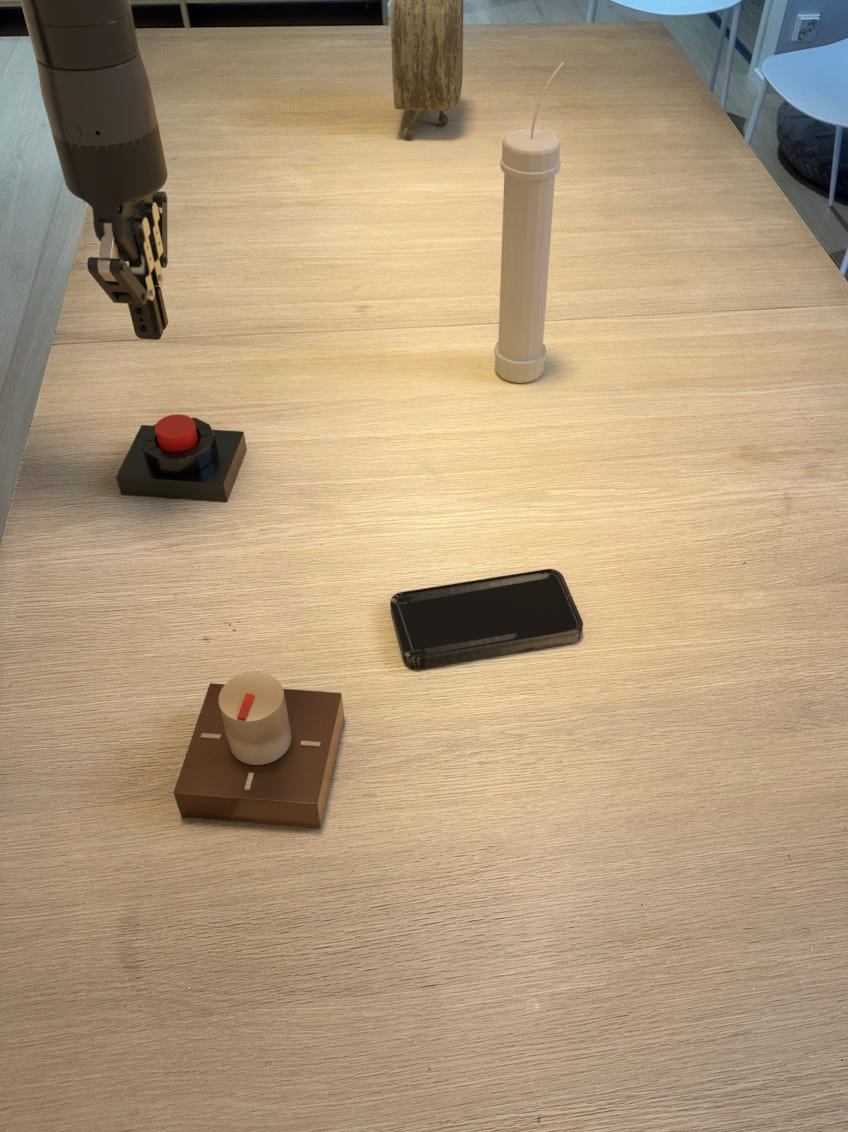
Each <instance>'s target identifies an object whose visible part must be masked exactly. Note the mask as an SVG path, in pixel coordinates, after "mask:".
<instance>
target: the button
mask: <svg viewBox="0 0 848 1132" xmlns="http://www.w3.org/2000/svg"><path fill="white" fill-rule="evenodd" d="M192 418H193V417H191V416H189V415H186V414H180V413H179V414H178V413H177V414H170V415H166V416H164V417H162V418H160V419H158V421H157V422H156V423H155V424H156V425H155V424H154V425H155V432H156V436H157V440H158V444H159V446H160V448H161V449H162V450H164V451H170V452H180V451H184V450H188V449H190V448H192V447H193V446H195V445H196V444H197V442H198V435H197V431H196V426H195V422H194V420H193V419H192Z"/></svg>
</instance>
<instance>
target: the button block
mask: <svg viewBox="0 0 848 1132" xmlns="http://www.w3.org/2000/svg"><path fill="white" fill-rule="evenodd" d="M191 418H192V419H193V420H194V422H195V426H196V431H197V435H198V442H197V444H196V445H195V446H193V447H192V448H190V449H188V450H184V451H180V452H170V451H164V450H162V449H161V448H160V446H159V444H158V440H157V436H156V432H155V425H156V423H155V424H153V425H149V424H141V425H140V428H139V429H138V432H137V433H136V435H135V437H134V439H133V442H132V443H131V445H130V447H129V449H128V451H127V453H126V455H125V457H124V459H123V461H122V463H121V465H120V467H119V469H118V471H117V474H116V476H115V478H116V482H117V486H118V489H119V492H120V495H121V496H130V497H131V496H132V497H144V498H145V497H146V498H158V499H159V498H161V499H176V500H189V501H205V502H219V503H228V501H229V498H230V496H231V493H232V491H233V488H234V485H235V482H236V480H237V477H238V475H239V472H240V469H241V467H242V463H243V461H244V459H245V456H246V453H247V450H248V448H247V443H246V437H245V432H244V431H241V430H226V429H212V426H211V424H209V423H207V422H205V421H203V420H201V419H199V418H198V417H191Z"/></svg>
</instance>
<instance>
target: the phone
mask: <svg viewBox="0 0 848 1132" xmlns="http://www.w3.org/2000/svg"><path fill="white" fill-rule="evenodd" d="M389 605H390V606H389V607H390V615H391V620H392V623H393V627H394V631H395V634H396V639H397V642H398V645H399V650H400V652H401V657H402V661H403V663H404V664H405V666H407V667H408V668H411V669H415V670H418V669H419V670H420V669H425V668H431V667H437V666H444V665H450V664H454V663H463V662H467V661H473V660H477V659H478V660H479V659H484V658H490V657H495V656H496V657H497V656H501V655H502V656H503V655H508V654H513V653H519V652H526V651H530V650H538V649H543V648H549V647H554V646H561V645H567V644H572V643H575V642H577V641H579V640H580V639H581V638H582V635H583V629H584V621H583V619H582V617H581V614H580V612H579V609H578V607H577V605H576V603H575V600H574V598H573V595H572V593H571V591H570V588H569V585H568V584H567V581H566V579H565V577H564V575H563V574H562V573H561V572H560V571H559V570H557V569H554V568H544V569H537V570H533V571H525V572H520V573H514V574H505V575H501V576H499V575H498V576H494V577H488V578H487V577H486V578H482V579H475V580H469V581H468V580H467V581H462V582H455V583H450V584H444V585H443V584H442V585H437V586H431V587H423V588H417V589H412V590H404V591H401V592H397V593H395V594H393V595H392V596H391V597H390V600H389Z"/></svg>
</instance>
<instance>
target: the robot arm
mask: <svg viewBox="0 0 848 1132" xmlns="http://www.w3.org/2000/svg"><path fill="white" fill-rule="evenodd" d="M20 4H21V8H22V12H23V16H24V21H25V24H26V28H27V31H28V35H29V39H30V43H31V46H32V50H33V54H34V56H35V61H36V62H35V63H36V66H37V72H38V80H39V88H40V94H41V98H42V102H43V105H44V109H45V111H46V116H47V120H48V124H49V128H50V130H51V135H52V138H53V143H54V146H55V149H56V154H57V157H58V160H59V165H60V169H61V172H62V176H63V179H64V182H65V183H64V184H65V186H66V189H68V191H69V192H70V193H71V194H72V195H73V196H75V197H76V198H77V199H81V200H82V201H84V202H85V203H87V204H88V205H89V206H90V207H91V209H92V225H93V231H94V234H95V237H96V239H97V240H98V241H99V242H100V246H99V254H98V256H89V257H88V258H87V263H86V265H87V270H88V273H89V274H90V276H92V278H93V280H95V282H96V283H97V284H98V285H99V287H100V288H101V289H102V290H103V292H104V293H105V294H106V295H107V296H108V297H109V299H110V300H111V302H113V304H124V305H125V304H126V305H127V307H128V310H129V314H130V317H131V322H132V327H133V330H134V334H135V336H136V337H137V338H138V339H140V340H150V341H151V340H152V341H153V340H154V341H158V340H160V339H161V338H162V336H163V335H164V331H165V330H166V329H167V326H168V325H169V318H168V314H167V310H166V306H165V301H164V297H163V291H162V286H163V283H164V274H163V269H166V268H167V267H168V263H169V259H168V257H169V256H168V200H169V199H168V195H167V193H166V191H161V189H162V188H163V187H164V186H165V185H166V182H167V180H168V176H169V175H168V169H167V163H166V158H165V153H164V148H163V143H162V137H161V132H160V127H159V123H158V122H159V121H158V117H157V112H156V106H155V101H154V97H153V92H152V88H151V84H150V79H149V76H148V73H147V70H146V68H145V64H144V60H143V58H142V53H141V50H140V45H139V40H138V36H137V30H136V26H135V19H134V15H133V10H132V6H131V1H130V0H20Z"/></svg>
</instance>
